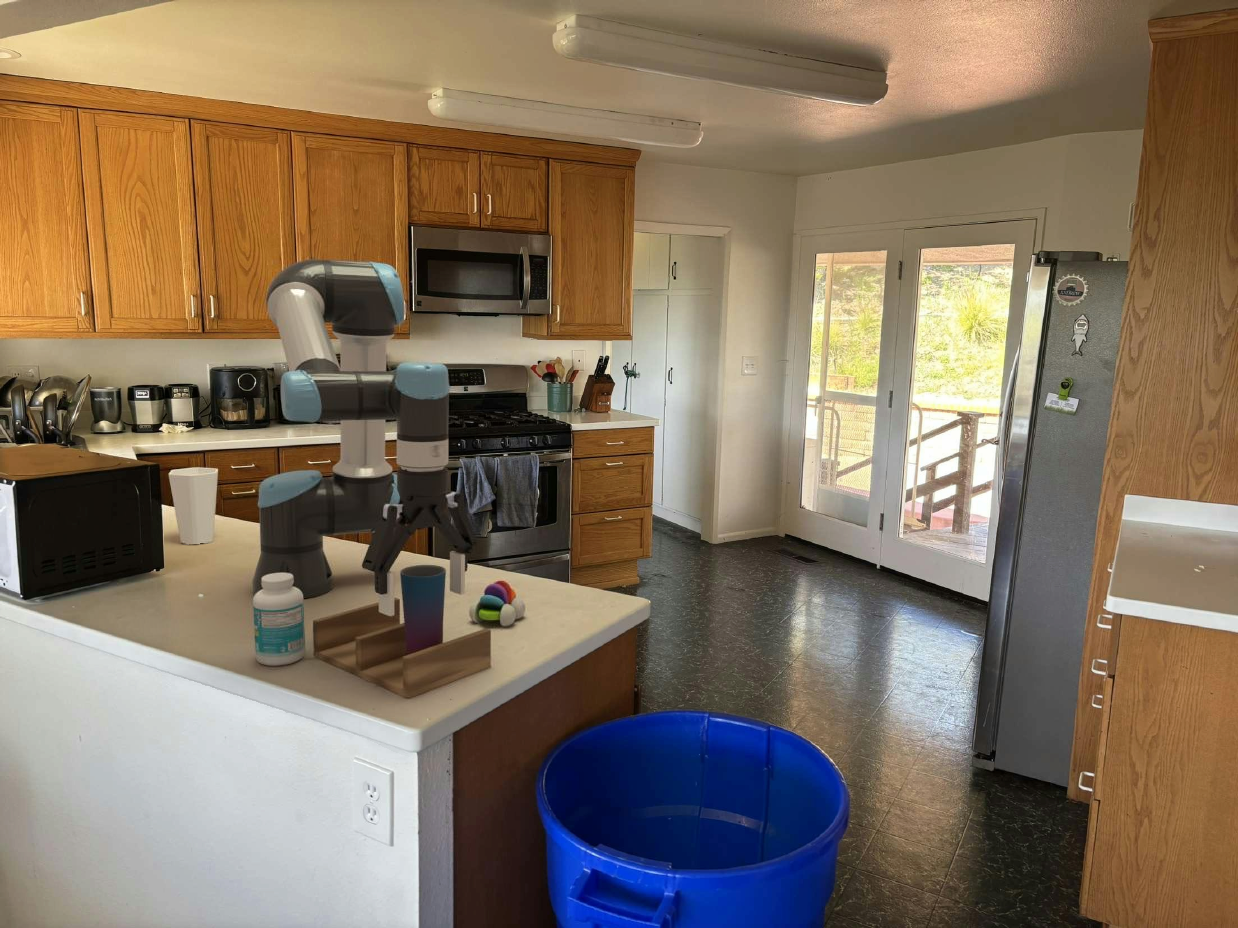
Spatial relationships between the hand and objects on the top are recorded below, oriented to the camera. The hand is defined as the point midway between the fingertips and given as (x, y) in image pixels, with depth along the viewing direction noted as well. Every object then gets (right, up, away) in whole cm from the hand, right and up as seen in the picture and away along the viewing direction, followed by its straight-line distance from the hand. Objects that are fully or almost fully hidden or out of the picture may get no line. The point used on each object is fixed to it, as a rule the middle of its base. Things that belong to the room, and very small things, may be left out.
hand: (423, 602), depth 133 cm
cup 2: (0, -10, +1) cm, 10 cm away
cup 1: (-71, +3, +74) cm, 103 cm away
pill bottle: (-24, -10, +5) cm, 26 cm away
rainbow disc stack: (+8, -8, +25) cm, 28 cm away
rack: (-5, -10, +5) cm, 12 cm away
